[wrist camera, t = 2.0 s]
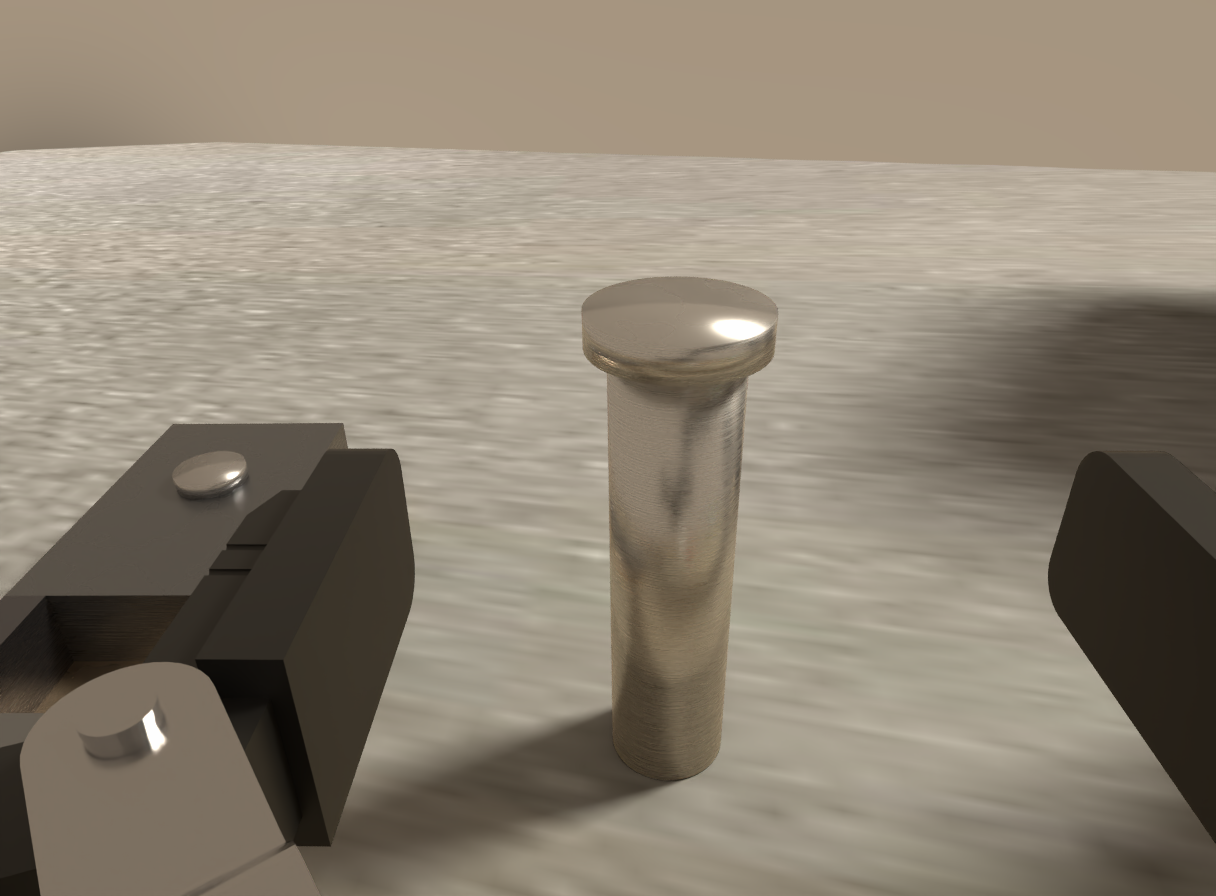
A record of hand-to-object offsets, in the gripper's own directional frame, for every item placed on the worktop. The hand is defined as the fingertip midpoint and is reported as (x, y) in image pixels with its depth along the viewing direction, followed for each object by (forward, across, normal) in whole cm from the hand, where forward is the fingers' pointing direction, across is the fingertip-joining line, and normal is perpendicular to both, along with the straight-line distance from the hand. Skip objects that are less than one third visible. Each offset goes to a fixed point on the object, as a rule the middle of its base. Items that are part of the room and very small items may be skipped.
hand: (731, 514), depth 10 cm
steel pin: (+12, 0, +16) cm, 20 cm away
